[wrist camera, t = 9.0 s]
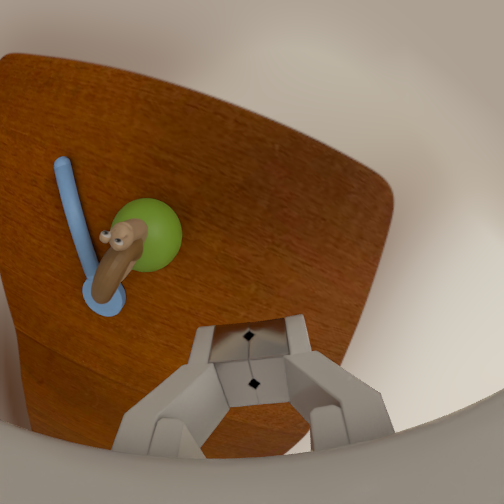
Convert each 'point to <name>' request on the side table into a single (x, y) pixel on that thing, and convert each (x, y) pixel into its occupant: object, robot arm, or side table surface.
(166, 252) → the snail figurine
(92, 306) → the blue spoon
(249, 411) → the side table surface
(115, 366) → the side table surface
